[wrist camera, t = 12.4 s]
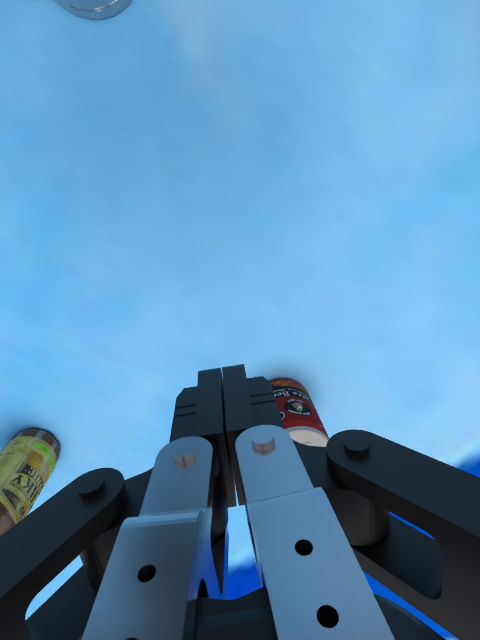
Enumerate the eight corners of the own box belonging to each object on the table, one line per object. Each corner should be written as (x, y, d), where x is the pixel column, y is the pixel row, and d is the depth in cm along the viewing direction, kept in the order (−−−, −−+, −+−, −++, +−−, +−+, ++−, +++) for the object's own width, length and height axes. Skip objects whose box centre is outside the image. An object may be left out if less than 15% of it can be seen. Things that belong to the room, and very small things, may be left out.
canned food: (316, 381, 49) (344, 435, 38) (299, 434, 51) (322, 498, 41) (257, 371, 48) (270, 424, 37) (243, 426, 50) (251, 489, 40)
